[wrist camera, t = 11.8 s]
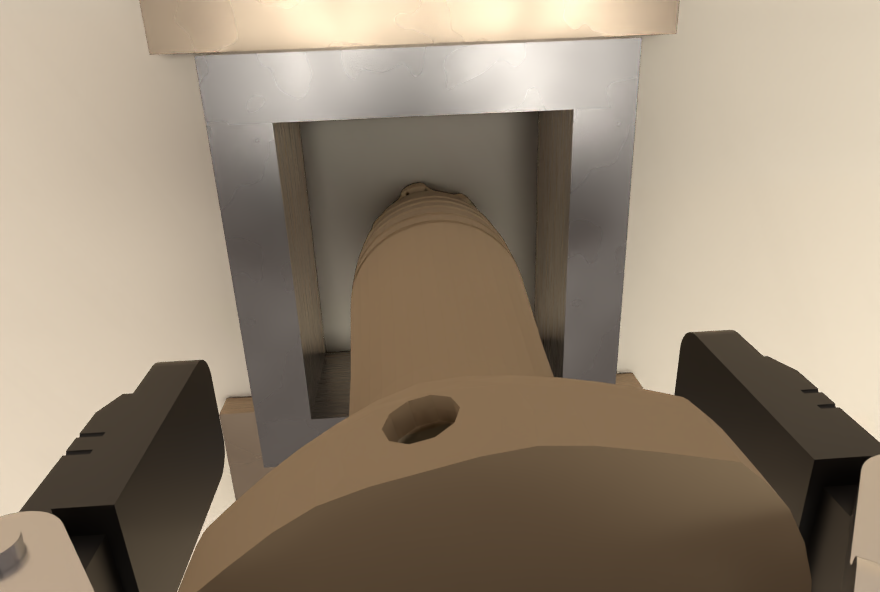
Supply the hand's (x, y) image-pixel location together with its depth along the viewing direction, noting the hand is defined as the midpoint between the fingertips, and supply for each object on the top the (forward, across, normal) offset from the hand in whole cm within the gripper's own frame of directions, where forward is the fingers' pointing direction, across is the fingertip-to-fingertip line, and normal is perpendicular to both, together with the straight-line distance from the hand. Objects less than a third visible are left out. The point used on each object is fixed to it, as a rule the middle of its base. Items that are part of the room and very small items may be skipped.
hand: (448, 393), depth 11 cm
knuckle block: (+10, 0, 0) cm, 10 cm away
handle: (+10, 0, 0) cm, 10 cm away
